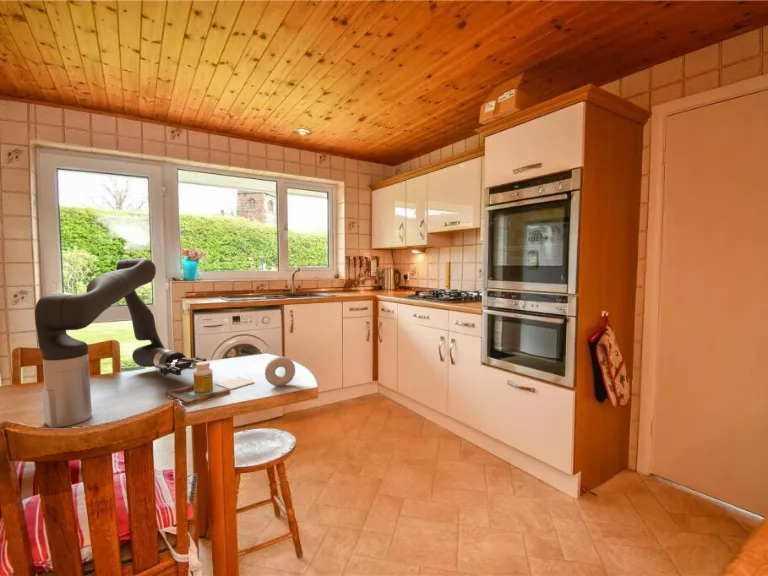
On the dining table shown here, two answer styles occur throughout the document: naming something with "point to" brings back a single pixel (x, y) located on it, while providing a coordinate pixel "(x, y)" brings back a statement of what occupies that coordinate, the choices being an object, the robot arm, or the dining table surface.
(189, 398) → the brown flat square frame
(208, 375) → the supplement bottle
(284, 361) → the donut
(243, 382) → the pad
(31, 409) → the dining table surface
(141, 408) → the dining table surface
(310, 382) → the dining table surface
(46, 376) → the robot arm
